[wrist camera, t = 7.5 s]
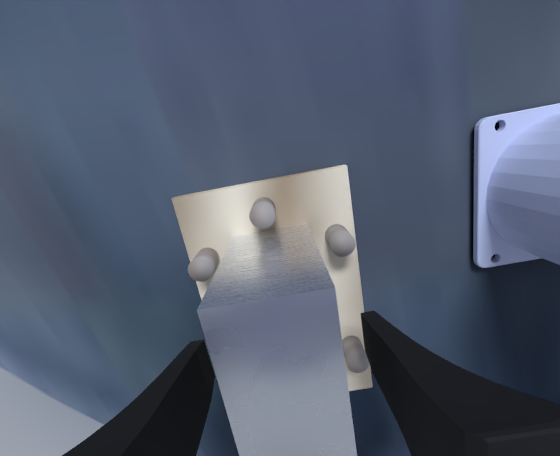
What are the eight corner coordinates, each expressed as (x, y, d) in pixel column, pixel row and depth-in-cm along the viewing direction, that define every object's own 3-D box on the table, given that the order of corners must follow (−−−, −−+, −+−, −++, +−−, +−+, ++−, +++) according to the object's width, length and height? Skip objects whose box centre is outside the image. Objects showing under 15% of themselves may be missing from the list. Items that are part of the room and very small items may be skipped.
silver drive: (308, 223, 15) (337, 287, 8) (327, 349, 17) (362, 484, 10) (232, 236, 15) (194, 310, 8) (260, 359, 17) (250, 499, 10)
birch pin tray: (344, 164, 14) (356, 167, 12) (369, 379, 18) (382, 410, 16) (175, 196, 15) (158, 204, 13) (235, 401, 18) (230, 433, 16)
